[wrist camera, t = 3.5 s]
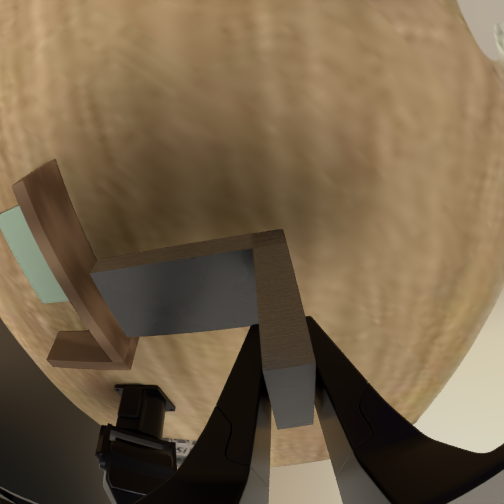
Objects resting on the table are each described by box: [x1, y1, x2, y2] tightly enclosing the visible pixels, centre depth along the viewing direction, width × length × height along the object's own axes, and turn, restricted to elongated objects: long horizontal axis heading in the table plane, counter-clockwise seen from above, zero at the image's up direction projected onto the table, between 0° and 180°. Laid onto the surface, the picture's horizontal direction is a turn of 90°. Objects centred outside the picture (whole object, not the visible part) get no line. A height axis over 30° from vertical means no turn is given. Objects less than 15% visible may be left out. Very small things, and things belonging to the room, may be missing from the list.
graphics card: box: [162, 438, 196, 467], centre depth 46 cm, size 17×4×12 cm
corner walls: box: [12, 159, 139, 370], centre depth 19 cm, size 18×10×4 cm, turn 9°
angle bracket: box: [90, 229, 316, 429], centre depth 10 cm, size 8×4×6 cm, turn 99°
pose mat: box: [0, 205, 69, 304], centre depth 20 cm, size 10×6×1 cm, turn 9°
